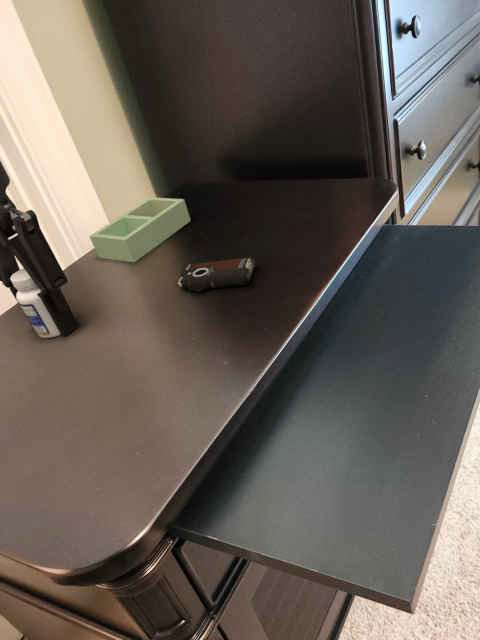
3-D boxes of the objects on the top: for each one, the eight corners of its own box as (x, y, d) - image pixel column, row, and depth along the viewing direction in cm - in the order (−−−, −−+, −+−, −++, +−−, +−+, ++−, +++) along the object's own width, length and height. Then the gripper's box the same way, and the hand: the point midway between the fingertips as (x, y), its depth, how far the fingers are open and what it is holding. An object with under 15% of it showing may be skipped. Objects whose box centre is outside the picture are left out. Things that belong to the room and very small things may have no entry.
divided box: (98, 258, 91) (88, 236, 89) (156, 218, 101) (149, 197, 98) (134, 262, 87) (125, 239, 85) (190, 220, 97) (184, 199, 94)
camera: (244, 274, 73) (171, 282, 75) (249, 291, 75) (178, 298, 77) (252, 249, 77) (182, 257, 79) (256, 266, 79) (189, 273, 81)
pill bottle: (72, 313, 78) (43, 259, 72) (77, 329, 74) (47, 273, 68) (36, 326, 76) (4, 272, 71) (39, 343, 73) (5, 287, 67)
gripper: (38, 147, 58) (119, 321, 73) (-56, 147, 66) (34, 304, 81) (-19, 173, 53) (80, 353, 69) (-112, 170, 61) (-5, 331, 77)
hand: (55, 326), depth 75 cm, fingers closed on pill bottle, 5 cm apart
